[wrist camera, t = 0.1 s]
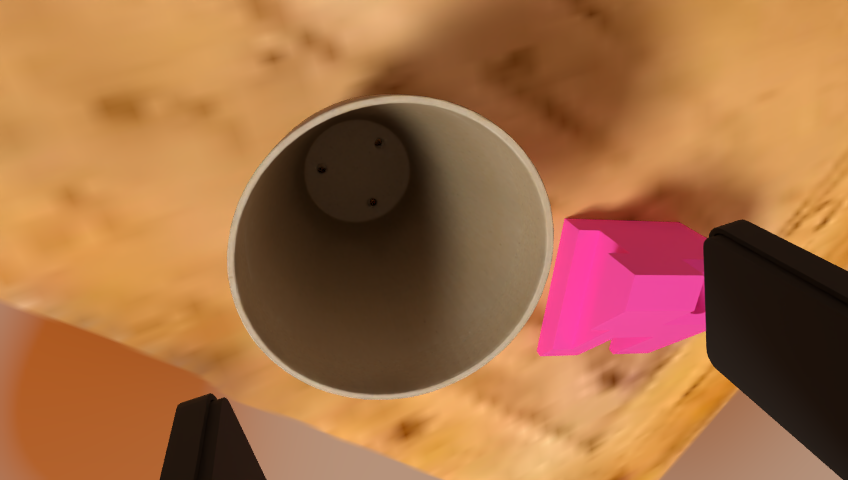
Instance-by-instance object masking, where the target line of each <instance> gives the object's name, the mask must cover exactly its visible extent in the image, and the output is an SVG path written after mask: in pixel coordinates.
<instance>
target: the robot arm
mask: <svg viewBox="0 0 848 480" xmlns="http://www.w3.org/2000/svg"><path fill="white" fill-rule="evenodd" d="M703 256H704V287H705V317H706V348H707V354H708V357H709V359H710V361H711V363H712V364H713V366H714V367H715V368H716V369H717V370H718V371H719V372H720V373H722V374H723V375H724V376H725V377H726V378H727V379H728V380H730V381H731V382H732V383H733V384H734V385H735V386H736V387H738V388H739V389H740V390H741V391H742V392H743V393H744V394H746V395H747V396H748V397H749V398H750V399H751V400H752V401H754V402H755V403H756V404H757V405H758V406H760V407H761V408H762V409H763V410H764V411H765V412H766V413H767V414H768V415H770V416H771V417H772V418H773V419H774V420H775V421H777V422H778V423H779V424H780V425H781V426H782V427H783V428H785V429H786V430H787V431H788V432H789V433H790V434H792V436H794V437H795V438H796V439H797V440H798V441H799V442H801V443H802V444H803V445H804V446H805V447H806V448H807V449H809V450H810V451H811V452H812V453H813V454H814V455H815V456H817V457H818V458H819V459H820V460H821V461H822V462H823V463H825V464H826V465H827V466H828V467H829V468H830V469H832V470H833V471H834V472H835V473H836V474H837V475H838V476H839V477H841V478H842V479H843V480H848V271H846V270H844V269H842V268H840V267H838V266H836V265H834V264H832V263H830V262H828V261H826V260H824V259H822V258H820V257H818V256H816V255H814V254H812V253H810V252H808V251H806V250H804V249H802V248H800V247H798V246H796V245H794V244H792V243H790V242H788V241H786V240H784V239H782V238H780V237H778V236H776V235H774V234H772V233H770V232H768V231H766V230H764V229H762V228H760V227H758V226H756V225H754V224H752V223H750V222H748V221H746V220H738V221H735V222H732V223H729V224H726V225H722V226H719V227H716V228H714V229H712V230H711V232H710V234H709V238H707V239H706V240H705V241H704V244H703ZM160 480H266V478H265V476H264V474H263V472H262V469H261V467H260V466H259V463H258V461H257V459H256V457H255V455H254V453H253V451H252V449H251V446H250V445H249V442H248V440H247V438H246V436H245V434H244V432H243V430H242V428H241V426H240V424H239V421H238V419H237V417H236V415H235V413H234V411H233V409H232V407H231V405H230V403H229V401H228V400H227V398H225V397H224V398H221V399H218V400H217V398H216V397H215V396H214V395H213V394H211V393H210V394H207V395H204V396H201V397H198V398H195V399H192V400H189V401H186V402H183V403H180V404H179V405H178V406H177V409H176V413H175V417H174V422H173V426H172V430H171V434H170V439H169V443H168V447H167V451H166V455H165V459H164V464H163V468H162V472H161V477H160Z"/></svg>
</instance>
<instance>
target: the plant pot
mask: <svg viewBox="0 0 848 480" xmlns="http://www.w3.org/2000/svg"><path fill="white" fill-rule="evenodd" d="M377 139H381V141H382V143H381V145H379V146H376V145H375V141H376V140H377ZM320 167H322V168H324V169H325V172H323V173H321V172H319V171H318V168H320ZM371 199H375V200H376V205H374V206H372V205H371V204H370V200H371ZM553 239H554V228H553V219H552V212H551V205H550V202H549V198H548V195H547V192H546V189H545V187H544V184H543V182H542V179H541V177H540V175H539V173H538V171H537V169H536V168H535V166H534V164H533V163H532V161H531V160H530V158H529V157H528V156H527V154H526V153H525V152H524V151H523V149H522V148H521V147H520V146H519V145H518V144H517V143H516V142H515V141H514V140H513V138H512V137H511V136H510V135H508V134H507V133H506V132H505V131H503V130H502V129H501V128H500V127H498V126H497V125H496V124H494V123H493V122H491V121H490V120H488V119H487V118H485V117H483V116H481V115H480V114H478V113H476V112H474V111H472V110H470V109H467V108H465V107H463V106H460V105H457V104H454V103H451V102H448V101H445V100H440V99H435V98H431V97H424V96H415V95H401V94H379V95H369V96H362V97H356V98H352V99H349V100H345V101H342V102H339V103H336V104H333V105H331V106H329V107H327V108H324V109H323V110H321V111H319V112H317V113H315V114H313V115H312V116H310V117H308V118H307V119H305V120H304V121H303V122H301V123H300V124H299V125H298V126H296V127H295V128H294V129H293V130H292V131H290V132H289V133H288V134H287V135H286V136H285V137H284V138H283V139H282V140H281V141H280V142H279V143H278V144H277V145H276V146H275V147H274V149H273V150H272V151H271V152H270V153H269V154H268V156H267V157H266V158H265V159H264V160H263V162H262V163H261V164H260V166H259V167H258V168H257V169H256V171H255V172H254V174H253V176H252V177H251V179H250V180H249V182H248V184H247V186H246V188H245V189H244V191H243V193H242V196H241V198H240V200H239V202H238V205H237V208H236V211H235V214H234V217H233V221H232V224H231V229H230V235H229V241H228V251H227V269H228V279H229V284H230V289H231V293H232V297H233V300H234V303H235V307H236V309H237V312H238V314H239V316H240V318H241V320H242V322H243V324H244V326H245V328H246V329H247V331H248V333H249V334H250V336H251V338H252V339H253V340H254V342H255V343H256V344H257V346H258V347H259V348H260V349H261V350H262V351H263V352H264V353H265V354H266V355H267V356H268V357H269V358H270V359H271V360H272V361H273V362H274V363H276V364H277V365H278V366H279V367H281V368H282V369H283V370H285V371H286V372H287V373H289V374H290V375H292V376H293V377H295V378H297V379H299V380H301V381H302V382H304V383H306V384H308V385H310V386H312V387H315V388H317V389H320V390H323V391H326V392H329V393H333V394H337V395H340V396H345V397H351V398H358V399H369V400H388V399H400V398H407V397H413V396H418V395H422V394H426V393H429V392H433V391H436V390H438V389H441V388H443V387H446V386H448V385H450V384H453V383H455V382H457V381H459V380H461V379H463V378H465V377H467V376H469V375H470V374H472V373H474V372H475V371H477V370H478V369H480V368H481V367H483V366H484V365H486V364H487V363H488V362H489V361H491V360H492V359H493V358H494V357H495V356H497V355H498V354H499V353H500V352H501V351H502V350H503V349H504V348H505V347H506V346H508V345H509V343H510V342H511V341H512V340H513V339H514V338H515V337H516V335H517V334H518V333H519V332H520V330H521V329H522V328H523V327H524V325H525V324H526V322H527V321H528V319H529V318H530V316H531V314H532V313H533V311H534V309H535V307H536V305H537V304H538V301H539V299H540V297H541V295H542V292H543V289H544V286H545V284H546V281H547V278H548V275H549V270H550V266H551V261H552V254H553Z"/></svg>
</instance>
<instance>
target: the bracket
mask: <svg viewBox="0 0 848 480" xmlns="http://www.w3.org/2000/svg"><path fill="white" fill-rule="evenodd" d="M706 239H707V238H706V237H704V236H702V235H700V234H699V233H697V232H695V231H694V230H692V229H690V228H688V227H687V226H685V225H683V224H682V223H680V222H657V221H626V220H596V219H565V220H564V224H563V229H562V234H561V239H560V243H559V248H558V253H557V258H556V262H555V267H554V272H553V277H552V281H551V286H550V291H549V296H548V300H547V305H546V310H545V315H544V319H543V324H542V329H541V334H540V338H539V343H538V348H537V352H538V354H539V355H540V356H560V355H579V354H581V353H583V352H585V351H587V350H589V349H591V348H594V347H596V346H598V345H600V344H602V343H604V342H606V341H609V340H611V339H612V340H611V344H610V348H609V350H610V351H611V352H612V353H613V354H630V353H649V352H652V351H655V350H657V349H660V348H662V347H665V346H668V345H670V344H673V343H675V342H678V341H680V340H683V339H686V338H688V337H691V336H693V335H696V334H699V333H701V332H704V331H706V317H705V287H704V256H703V244H704V241H705V240H706Z"/></svg>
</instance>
